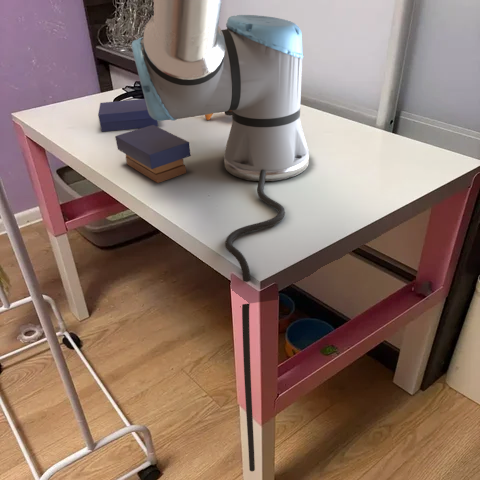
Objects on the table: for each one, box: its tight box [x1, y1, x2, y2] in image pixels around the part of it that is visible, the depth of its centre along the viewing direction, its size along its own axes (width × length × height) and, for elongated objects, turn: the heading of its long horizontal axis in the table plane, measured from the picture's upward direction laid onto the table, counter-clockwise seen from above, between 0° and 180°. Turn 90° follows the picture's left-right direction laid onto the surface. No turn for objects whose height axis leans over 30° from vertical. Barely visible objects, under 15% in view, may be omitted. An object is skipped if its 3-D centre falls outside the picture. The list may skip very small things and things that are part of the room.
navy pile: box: [97, 98, 159, 133], centre depth 111 cm, size 12×8×4 cm, turn 99°
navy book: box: [115, 125, 191, 169], centre depth 91 cm, size 12×8×2 cm, turn 39°
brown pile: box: [125, 154, 187, 184], centre depth 92 cm, size 11×6×3 cm, turn 39°
